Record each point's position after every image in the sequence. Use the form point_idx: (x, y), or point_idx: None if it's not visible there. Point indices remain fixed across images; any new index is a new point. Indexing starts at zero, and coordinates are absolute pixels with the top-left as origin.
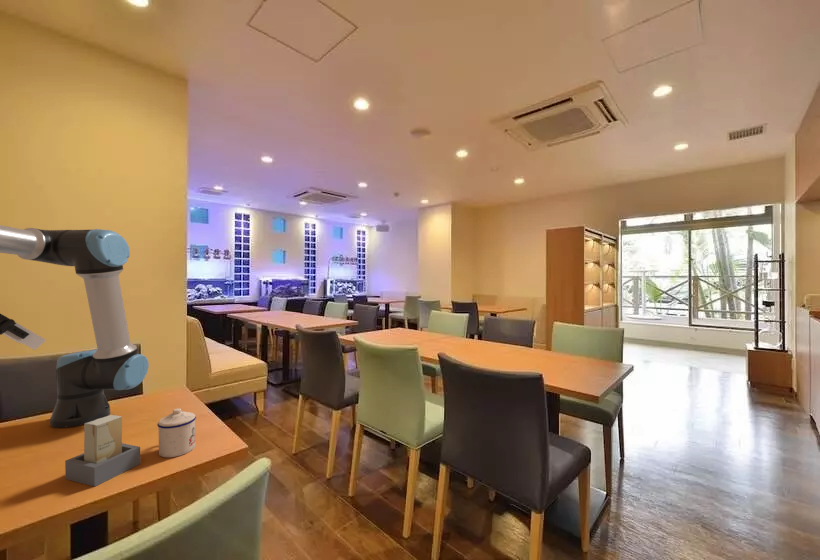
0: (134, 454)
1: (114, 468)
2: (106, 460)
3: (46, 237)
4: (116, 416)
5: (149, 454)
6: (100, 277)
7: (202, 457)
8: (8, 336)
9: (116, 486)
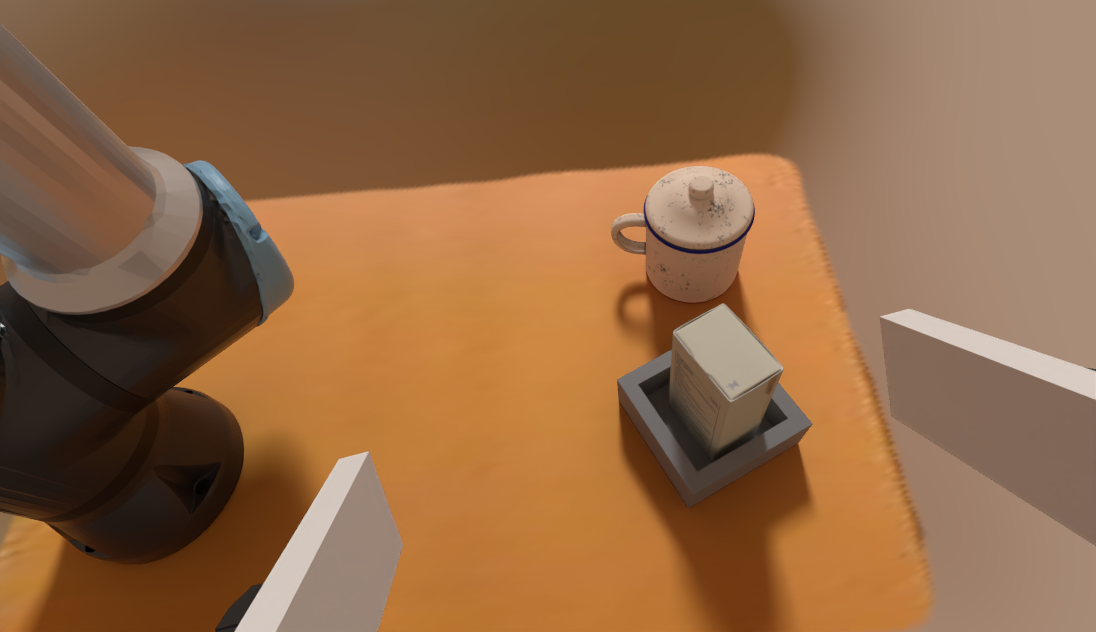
0: None
1: None
2: (775, 396)
3: None
4: (714, 316)
5: (667, 323)
6: None
7: (783, 226)
8: (378, 620)
9: (831, 398)
